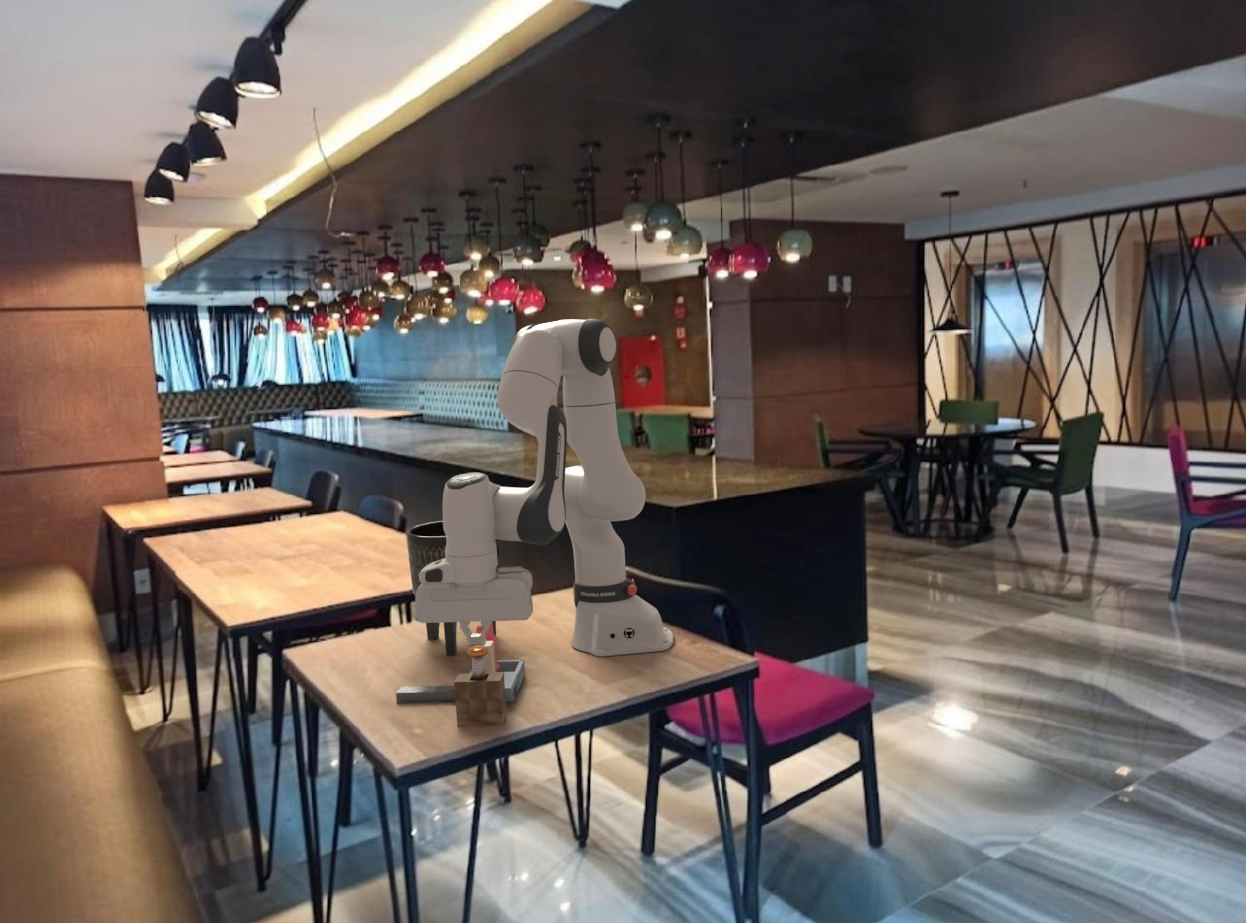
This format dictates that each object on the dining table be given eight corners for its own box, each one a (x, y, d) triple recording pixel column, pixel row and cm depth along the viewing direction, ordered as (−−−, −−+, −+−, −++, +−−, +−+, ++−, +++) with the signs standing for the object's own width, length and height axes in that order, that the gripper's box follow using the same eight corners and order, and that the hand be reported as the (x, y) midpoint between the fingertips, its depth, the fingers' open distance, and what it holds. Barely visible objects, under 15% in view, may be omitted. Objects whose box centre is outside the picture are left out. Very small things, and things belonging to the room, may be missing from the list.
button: (491, 682, 160) (489, 645, 159) (488, 690, 156) (485, 652, 156) (471, 683, 160) (469, 646, 159) (467, 690, 157) (465, 653, 156)
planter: (495, 655, 193) (487, 535, 190) (404, 659, 193) (395, 538, 190) (508, 627, 212) (501, 517, 209) (425, 630, 213) (417, 520, 209)
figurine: (467, 684, 176) (468, 610, 174) (484, 676, 180) (485, 603, 178) (487, 690, 173) (488, 614, 171) (504, 682, 177) (505, 608, 175)
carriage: (524, 674, 181) (521, 619, 179) (511, 705, 165) (508, 646, 163) (477, 675, 181) (473, 621, 180) (460, 706, 165) (455, 647, 164)
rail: (515, 694, 171) (514, 683, 170) (512, 700, 168) (512, 689, 168) (401, 697, 172) (400, 686, 172) (396, 703, 169) (395, 693, 169)
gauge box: (506, 715, 161) (503, 672, 160) (502, 724, 157) (499, 680, 156) (462, 716, 161) (459, 673, 160) (457, 725, 157) (454, 682, 156)
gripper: (534, 561, 158) (538, 637, 160) (419, 565, 159) (424, 640, 161) (528, 570, 152) (533, 649, 154) (409, 574, 153) (415, 652, 155)
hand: (476, 645), depth 157 cm, fingers closed
